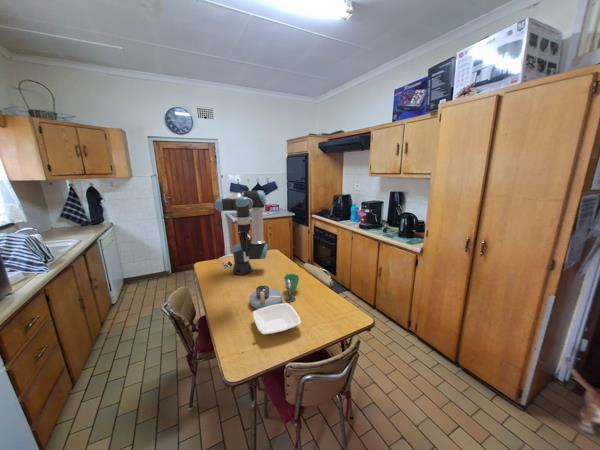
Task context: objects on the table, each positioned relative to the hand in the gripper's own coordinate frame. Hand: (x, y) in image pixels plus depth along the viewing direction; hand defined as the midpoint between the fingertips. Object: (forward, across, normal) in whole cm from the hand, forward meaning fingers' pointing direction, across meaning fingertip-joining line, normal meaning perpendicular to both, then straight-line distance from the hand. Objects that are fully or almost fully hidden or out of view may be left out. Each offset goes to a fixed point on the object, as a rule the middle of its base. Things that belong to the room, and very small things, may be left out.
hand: (246, 260), depth 148 cm
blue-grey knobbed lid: (+25, +10, +6) cm, 27 cm away
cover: (+22, +9, +5) cm, 24 cm away
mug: (+27, +7, +28) cm, 39 cm away
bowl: (+27, +33, -2) cm, 43 cm away
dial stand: (+26, +18, +19) cm, 37 cm away
